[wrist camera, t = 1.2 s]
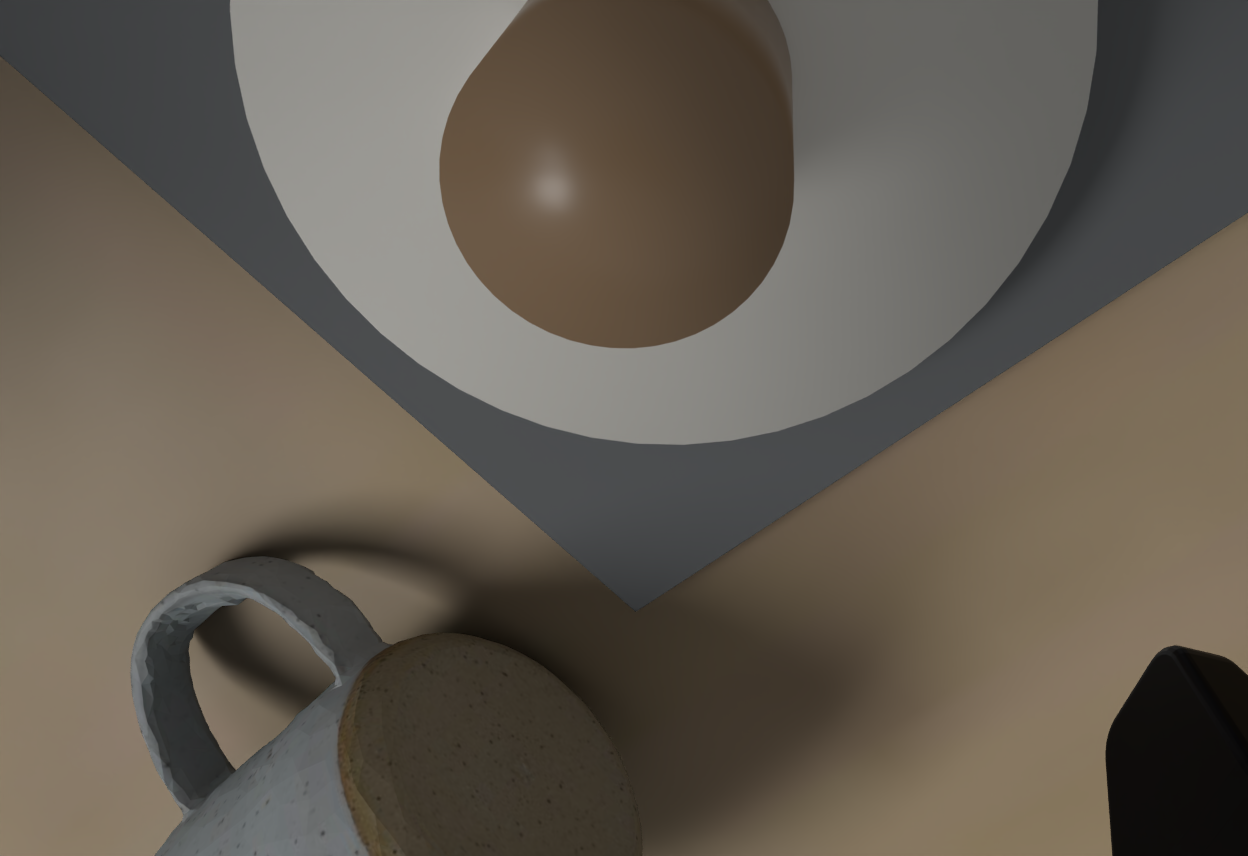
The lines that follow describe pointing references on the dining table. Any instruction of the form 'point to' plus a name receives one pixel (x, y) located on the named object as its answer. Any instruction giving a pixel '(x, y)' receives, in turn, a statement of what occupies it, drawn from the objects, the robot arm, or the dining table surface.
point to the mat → (664, 473)
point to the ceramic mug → (379, 741)
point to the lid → (666, 188)
